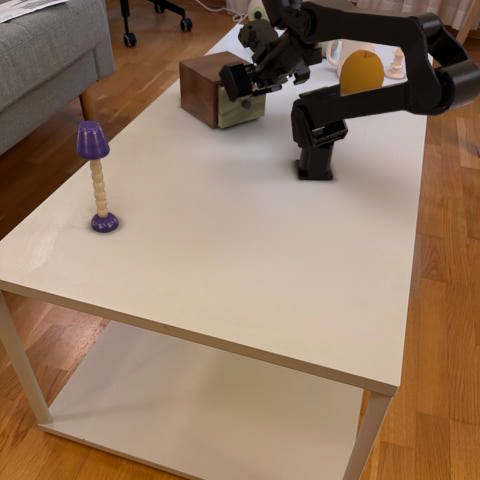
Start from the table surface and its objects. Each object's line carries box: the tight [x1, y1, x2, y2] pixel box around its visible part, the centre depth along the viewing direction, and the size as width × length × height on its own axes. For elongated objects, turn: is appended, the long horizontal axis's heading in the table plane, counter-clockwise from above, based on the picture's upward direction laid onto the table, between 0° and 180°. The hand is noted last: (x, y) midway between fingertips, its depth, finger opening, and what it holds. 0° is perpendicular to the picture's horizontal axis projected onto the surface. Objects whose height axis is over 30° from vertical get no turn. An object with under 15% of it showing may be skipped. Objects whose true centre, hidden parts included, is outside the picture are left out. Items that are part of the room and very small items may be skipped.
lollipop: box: [247, 0, 269, 21], centre depth 125 cm, size 7×7×15 cm
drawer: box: [216, 84, 267, 129], centre depth 104 cm, size 13×11×8 cm
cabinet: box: [178, 50, 256, 130], centre depth 106 cm, size 13×13×10 cm
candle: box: [384, 47, 406, 80], centre depth 124 cm, size 5×5×10 cm
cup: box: [325, 39, 377, 78], centre depth 123 cm, size 8×12×10 cm
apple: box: [338, 50, 385, 94], centre depth 110 cm, size 10×10×12 cm
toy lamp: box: [75, 119, 120, 233], centre depth 73 cm, size 5×5×17 cm
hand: (245, 94), depth 99 cm, fingers closed, pressing on drawer
